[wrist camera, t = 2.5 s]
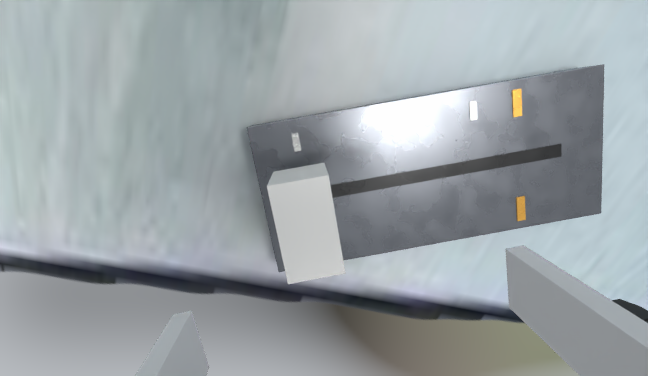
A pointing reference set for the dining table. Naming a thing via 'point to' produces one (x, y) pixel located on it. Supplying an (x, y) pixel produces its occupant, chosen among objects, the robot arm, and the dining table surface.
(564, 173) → the fader console
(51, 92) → the dining table surface
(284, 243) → the fader knob
